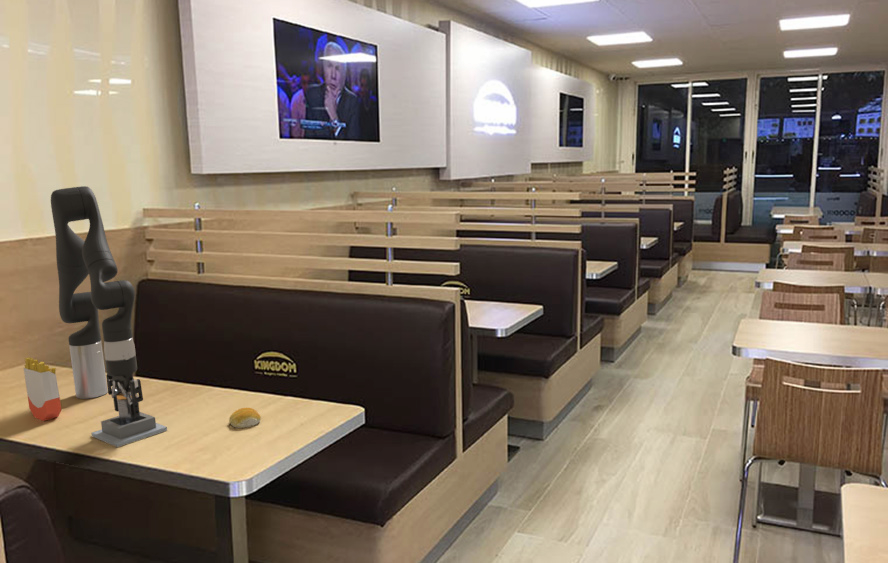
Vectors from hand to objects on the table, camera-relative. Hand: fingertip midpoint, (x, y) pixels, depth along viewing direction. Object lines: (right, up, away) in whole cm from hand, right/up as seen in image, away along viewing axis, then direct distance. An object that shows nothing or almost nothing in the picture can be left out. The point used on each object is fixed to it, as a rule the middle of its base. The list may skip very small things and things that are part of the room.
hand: (127, 413), depth 195 cm
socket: (0, -6, +1) cm, 6 cm away
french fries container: (-31, -4, +17) cm, 36 cm away
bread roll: (+31, -4, +6) cm, 31 cm away
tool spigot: (0, -5, +1) cm, 5 cm away
